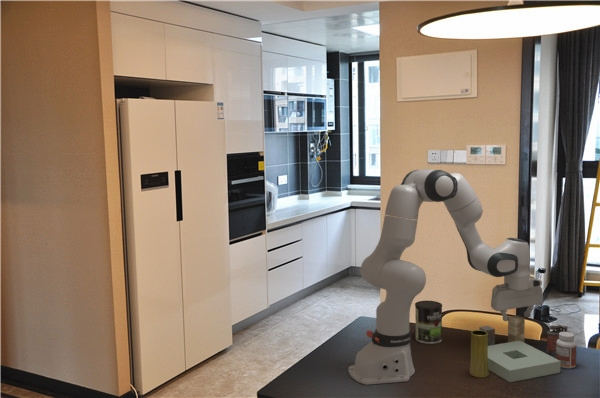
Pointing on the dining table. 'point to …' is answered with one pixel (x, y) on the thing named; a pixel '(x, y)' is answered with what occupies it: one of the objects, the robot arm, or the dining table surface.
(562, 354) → the pill bottle
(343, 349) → the dining table surface
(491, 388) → the dining table surface
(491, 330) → the short peg
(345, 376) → the dining table surface
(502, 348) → the socket plate
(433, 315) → the coffee can
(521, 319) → the long peg
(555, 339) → the lighter
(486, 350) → the vase
